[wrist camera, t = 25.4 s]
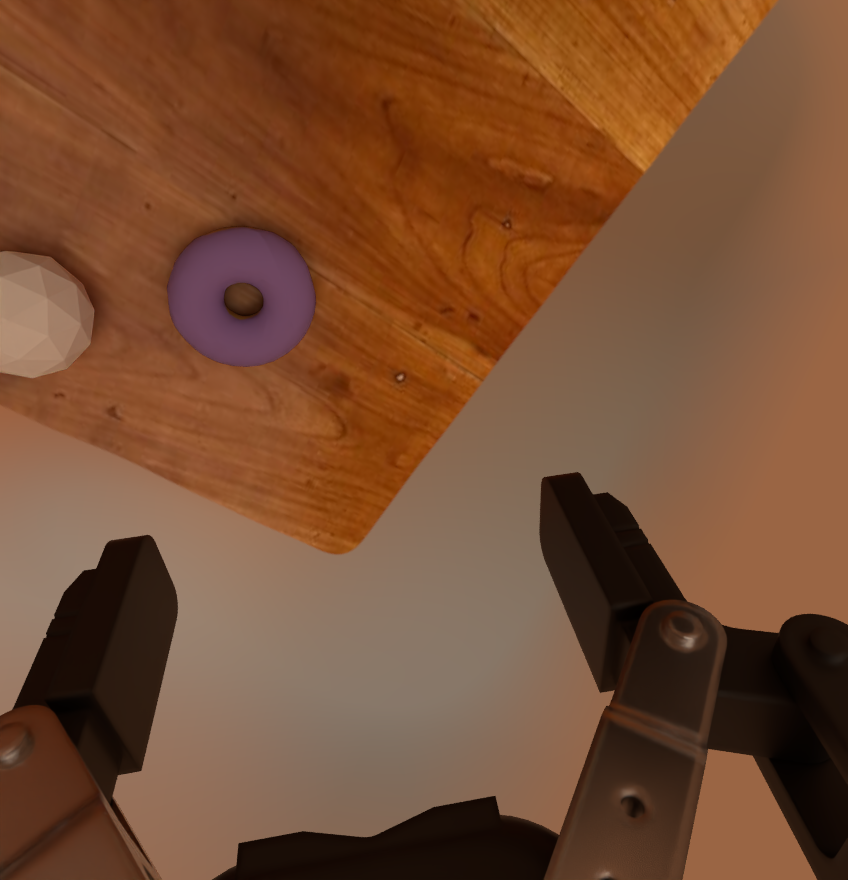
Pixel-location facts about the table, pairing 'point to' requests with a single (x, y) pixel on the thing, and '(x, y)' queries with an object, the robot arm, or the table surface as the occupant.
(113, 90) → the table surface
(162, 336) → the table surface
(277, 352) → the donut
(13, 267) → the geometric ball
